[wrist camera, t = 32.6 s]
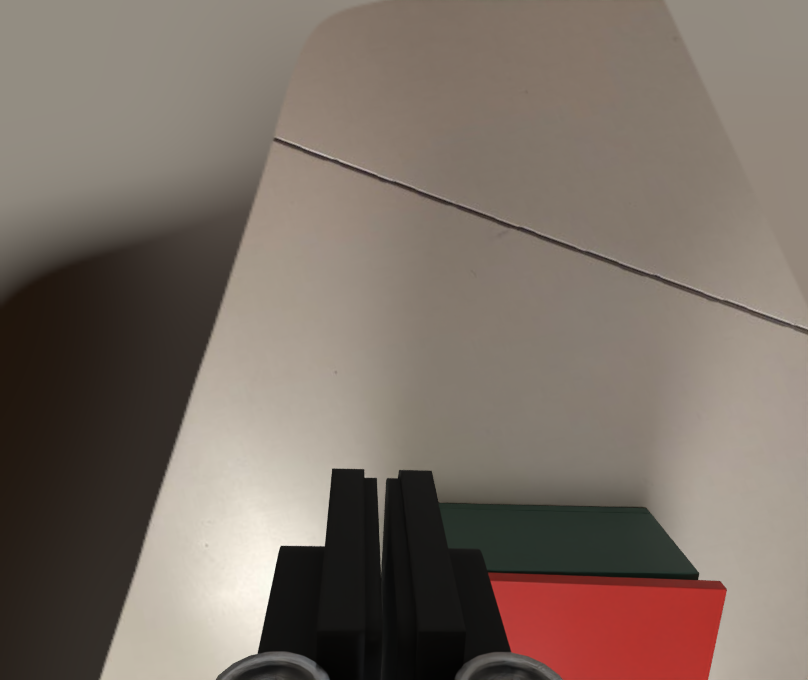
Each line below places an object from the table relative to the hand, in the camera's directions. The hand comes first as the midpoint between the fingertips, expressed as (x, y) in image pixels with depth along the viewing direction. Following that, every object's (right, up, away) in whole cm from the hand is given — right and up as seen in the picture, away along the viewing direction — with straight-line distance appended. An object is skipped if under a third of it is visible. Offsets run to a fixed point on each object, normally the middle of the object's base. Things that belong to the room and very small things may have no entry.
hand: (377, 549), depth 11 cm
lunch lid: (+9, -16, +29) cm, 35 cm away
